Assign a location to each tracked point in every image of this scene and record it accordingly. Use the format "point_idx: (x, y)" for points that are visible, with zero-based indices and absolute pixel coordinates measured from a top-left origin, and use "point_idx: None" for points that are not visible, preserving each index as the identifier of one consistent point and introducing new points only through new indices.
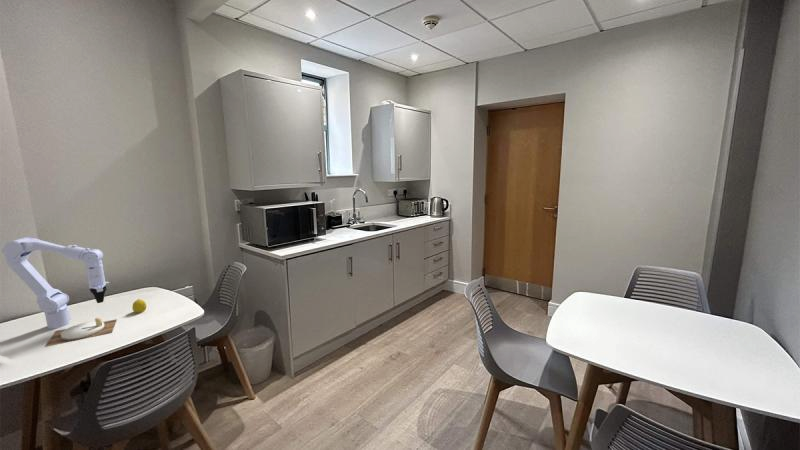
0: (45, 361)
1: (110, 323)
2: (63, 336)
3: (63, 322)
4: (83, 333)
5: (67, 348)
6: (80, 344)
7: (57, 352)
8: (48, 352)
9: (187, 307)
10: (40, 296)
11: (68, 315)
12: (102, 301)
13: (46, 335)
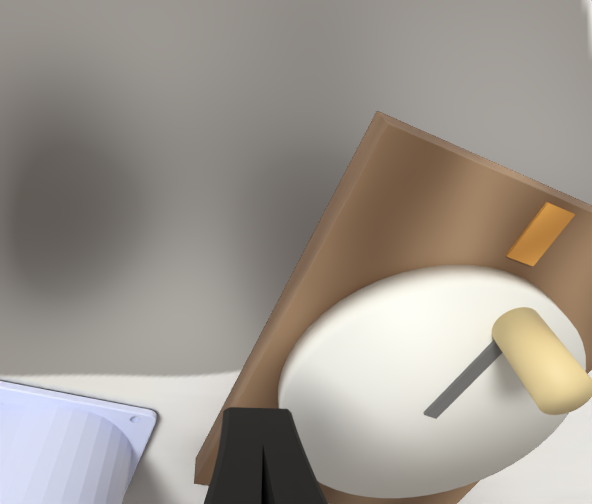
0: (580, 497)
1: (456, 209)
2: (446, 488)
3: (113, 483)
4: (546, 418)
5: None
6: None
7: (531, 466)
8: (480, 488)
9: None
10: None
11: (24, 495)
12: (290, 430)
13: (167, 489)
